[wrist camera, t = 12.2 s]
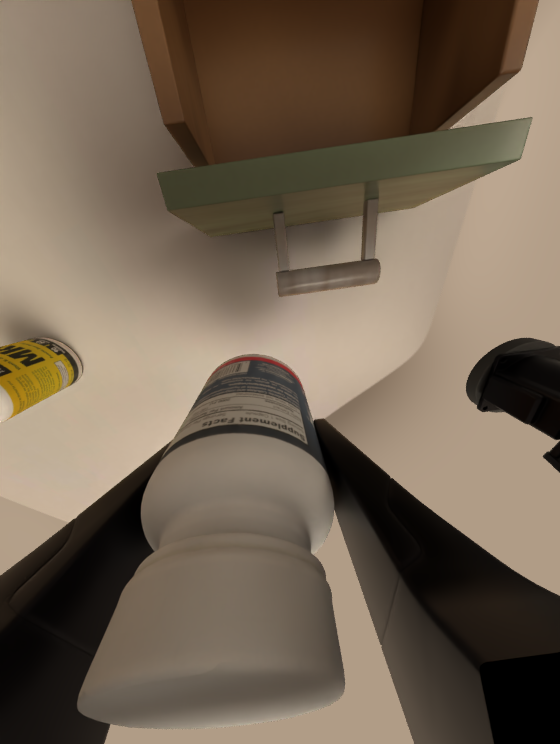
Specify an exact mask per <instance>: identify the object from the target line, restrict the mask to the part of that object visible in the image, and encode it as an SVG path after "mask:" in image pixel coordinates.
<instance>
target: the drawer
mask: <svg viewBox="0 0 560 744" xmlns="http://www.w3.org/2000/svg"><path fill="white" fill-rule="evenodd" d="M131 1H132V5H133V9H134V13H135V17H136V20H137V24H138V28H139V32H140V36H141V39H142V43H143V47H144V51H145V55H146V59H147V62H148V66H149V70H150V74H151V78H152V81H153V85H154V89H155V93H156V97H157V100H158V104H159V108H160V112H161V116H162V119H163V123H164V125H165V127H166V128H167V129H168V131H169V132H170V134H171V135H172V137H173V138H174V139H175V141H176V142H177V144H178V145H179V146H180V148H181V149H182V151H183V152H184V153H185V155H186V156H187V158H188V159H189V160H190V162H191V163H192V165H193V166H194V168H187V169H180V170H173V171H167V172H160V173H157V177H158V180H159V183H160V187H161V190H162V194H163V197H164V200H165V204H166V207H167V210H168V211H169V212H171V213H172V214H174V215H176V216H177V217H179V218H180V219H182V220H184V221H185V222H187V223H189V224H190V225H192V226H193V227H195V228H197V229H198V230H200V231H202V232H203V233H205V234H206V235H208V236H210V237H216V236H223V235H230V234H236V233H243V232H250V231H257V230H264V229H271V228H274V232H275V241H276V250H277V258H278V267H279V272H276V279H277V288H278V295H279V297H283V296H291V295H298V294H305V293H312V292H319V291H327V290H334V289H341V288H348V287H356V286H363V285H370V284H375V283H377V281H378V279H379V277H380V270H381V268H380V262H379V260H378V259H376V258H375V246H376V231H377V217H378V213H383V212H390V211H397V210H404V209H410V208H415V207H417V206H419V205H421V204H423V203H426V202H428V201H430V200H432V199H434V198H437V197H439V196H441V195H443V194H445V193H448V192H450V191H452V190H454V189H456V188H459V187H461V186H463V185H465V184H467V183H470V182H472V181H474V180H476V179H478V178H480V177H483V176H485V175H487V174H489V173H491V172H493V171H496V170H498V169H500V168H502V167H505V166H507V165H509V164H511V163H513V162H516V161H518V160H520V159H521V156H522V153H523V149H524V146H525V142H526V139H527V135H528V132H529V128H530V125H531V122H532V117H530V118H523V119H516V120H509V121H503V122H496V123H489V124H482V125H476V126H469V127H462V128H455V129H449V128H450V127H452V126H453V125H454V124H455V123H456V122H458V121H459V120H460V119H461V118H463V117H464V116H465V115H466V114H468V113H469V112H470V111H471V110H473V109H474V108H475V107H476V106H477V105H479V104H480V103H481V102H482V101H484V100H485V99H486V98H487V97H489V96H490V95H491V94H492V93H494V92H495V91H496V90H497V89H499V88H500V87H501V86H502V85H503V84H505V83H506V82H507V81H508V80H510V79H511V78H512V77H513V76H515V75H516V74H517V73H518V72H519V71H520V70H521V68H522V65H523V61H524V57H525V54H526V50H527V46H528V41H529V38H530V34H531V30H532V26H533V22H534V18H535V14H536V10H537V6H538V2H539V0H131ZM448 129H449V130H448ZM362 215H363V227H362V250H361V261H354V262H347V263H340V264H332V265H325V266H318V267H311V268H304V269H297V270H290V271H289V260H288V249H287V239H286V228H285V226H292V225H299V224H306V223H313V222H320V221H327V220H334V219H341V218H348V217H355V216H362ZM374 258H375V259H374Z"/></svg>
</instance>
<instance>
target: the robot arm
mask: <svg viewBox="0 0 560 744" xmlns="http://www.w3.org/2000/svg"><path fill="white" fill-rule="evenodd" d="M477 409H478V410H480V411H482V412H486V411H495V410H503V411H504V412H506V413H508V414H510V415H511V416H513V417H515V418H516V419H518V420H520V421H521V422H523V423H525V424H529V425H531V426H532V427H534V428H536V429H538V430H539V431H541V432H543V433H545V434H546V435H548V436H550V437H551V438H553V439H555V440H559V439H560V346H556V347H548V348H540V349H533V350H525V351H518V352H510V353H503V354H499V355H497V356H496V357H495V359H494V361H493V364H492V367H491V369H490V372H489V375H488V378H487V380H486V383H485V386H484V389H483V392H482V394H481V397H480V400H479V403H478V405H477ZM314 427H315V430H316V434H317V437H318V441H319V444H320V447H321V451H322V454H323V457H324V461H325V464H326V467H327V471H328V475H329V479H330V482H331V487H332V491H333V496H334V510H335V513H336V516H337V519H338V522H339V525H340V527H341V530H342V533H343V536H344V539H345V542H346V545H347V548H348V551H349V554H350V557H351V560H352V563H353V565H354V568H355V571H356V574H357V577H358V580H359V583H360V586H361V589H362V592H363V595H364V598H365V601H366V604H367V606H368V609H369V612H370V615H371V618H372V621H373V624H374V627H375V630H376V633H377V636H378V639H379V642H380V644H381V645H382V650H383V654H384V656H385V659H386V662H387V665H388V668H389V671H390V674H391V677H392V679H393V683H394V686H395V689H396V691H397V694H398V697H399V700H400V703H401V706H402V709H403V712H404V715H405V718H406V721H407V724H408V727H409V729H410V732H411V735H412V738H413V741H414V744H560V596H559V595H557V594H555V593H552V592H550V591H548V590H547V589H545V588H543V587H541V586H539V585H537V584H535V583H534V582H532V581H530V580H528V579H527V578H525V577H523V576H522V575H520V574H519V573H517V572H515V571H514V570H512V569H511V568H509V567H508V566H507V565H505V564H504V563H502V562H501V561H499V560H498V559H497V558H495V557H494V556H493V555H491V554H490V553H488V552H487V551H486V550H484V549H483V548H482V547H480V546H479V545H478V544H476V543H475V542H474V541H472V540H471V539H470V538H468V537H467V536H465V535H464V534H463V533H461V532H460V531H459V530H457V529H456V528H455V527H453V526H452V525H450V524H449V523H447V522H446V521H445V520H444V519H442V518H441V517H440V516H438V515H437V514H436V513H434V512H433V511H432V510H431V509H429V508H428V507H427V506H425V505H424V504H422V503H421V502H420V501H419V500H418V499H416V498H415V497H414V496H413V495H412V494H410V493H409V492H408V491H407V490H406V489H404V488H403V487H402V486H401V485H400V484H399V483H397V482H396V481H395V480H394V479H393V478H391V479H390V476H389V475H388V474H387V473H386V472H385V471H383V470H382V469H381V468H380V467H379V466H378V465H377V464H375V463H374V462H373V461H372V460H371V459H370V458H369V457H367V456H366V455H365V454H364V453H363V452H362V451H360V450H359V449H358V448H357V447H356V446H355V445H354V444H352V443H351V442H350V441H349V440H348V439H347V438H345V437H344V436H343V435H342V434H341V433H340V432H338V431H337V430H336V429H335V428H334V427H333V426H332V425H331V424H329V423H328V422H327V421H326V420H325V419H315V420H314ZM171 442H172V441H171ZM171 442H169V443H168V444H167V445H166V446H164V447H163V448H162V449H161V450H159V451H158V452H157V453H156V454H154V455H153V456H152V457H151V458H149V459H148V460H147V461H146V462H144V463H143V464H142V465H141V466H139V467H138V468H137V469H136V470H134V471H133V472H132V473H131V474H129V475H128V476H127V477H126V478H124V479H123V480H122V481H121V482H119V483H118V484H117V485H116V486H114V487H113V488H112V489H111V490H109V491H108V492H107V493H106V494H104V495H103V496H102V497H101V498H99V499H98V500H97V501H96V502H94V503H93V504H92V505H91V506H89V507H88V508H87V509H86V510H84V511H83V512H82V513H81V514H79V515H78V516H77V518H75V519H73V520H72V521H71V522H69V523H68V524H67V525H66V526H65V527H63V528H62V529H61V530H60V531H58V532H57V533H56V534H54V535H53V536H52V537H51V538H49V539H48V540H47V541H45V542H44V543H43V544H42V545H40V546H39V547H38V548H37V549H35V550H34V551H33V552H31V553H30V554H29V555H28V556H26V557H25V558H23V559H22V560H21V561H19V562H18V563H17V564H15V565H14V566H13V567H11V568H10V569H9V570H7V571H6V572H5V573H3V574H2V575H0V744H104V743H105V740H106V736H107V733H108V730H109V727H110V724H109V723H104V722H100V721H97V720H94V719H92V718H89V717H86V716H84V715H83V714H82V713H80V712H79V711H78V709H77V701H78V696H79V693H80V690H81V688H82V685H83V683H84V680H85V677H86V675H87V673H88V671H89V668H90V666H91V664H92V661H93V659H94V657H95V655H96V652H97V650H98V648H99V646H100V643H101V641H102V639H103V637H104V634H105V632H106V630H107V628H108V625H109V623H110V621H111V618H112V616H113V614H114V611H115V609H116V607H117V604H118V602H119V599H120V596H121V593H122V591H123V590H124V588H125V586H126V585H127V583H128V582H129V581H130V580H131V579H132V578H133V577H134V574H135V572H136V570H137V569H138V567H139V565H140V564H141V563H142V562H143V561H144V560H145V559H146V558H147V557H148V556H150V555H151V554H152V553H154V552H155V551H154V550H153V549H152V547H151V546H150V544H149V543H148V541H147V539H146V537H145V534H144V531H143V527H142V521H141V504H142V499H143V494H144V492H145V489H146V487H147V484H148V482H149V480H150V478H151V476H152V474H153V472H154V471H155V469H156V467H157V465H158V463H159V461H160V460H161V458H162V456H163V454H164V453H165V451H166V450H167V448H168V447H169V445H170V444H171ZM543 457H544V458H545V459H546V460H547V461H548V462H549V463H550V464H551V465H552V466H553V467H554V468H555V469H556V470H558V471H559V472H560V441H559V442H558V443H557V444H556V445H555V447H554V448H552V450H551V451H550V452H546V453H545V454H544V455H543Z"/></svg>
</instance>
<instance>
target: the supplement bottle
mask: <svg viewBox="0 0 560 744" xmlns="http://www.w3.org/2000/svg"><path fill="white" fill-rule="evenodd" d="M81 375H82V365H81V362H80V360H79V358H78V357H77V355H76V354H75V353H74V352H73V351H72V350H71V349H70V348H69V347H67V346H66V345H64V344H63V343H61V342H59V341H56V340H54V339H50V338H32V339H28V340H24V341H20V342H17V343H13V344H9V345H6V346H2V347H0V423H1V422H4V421H6V420H8V419H10V418H12V417H13V416H15V415H17V414H19V413H20V412H22V411H24V410H26V409H28V408H29V407H31V406H33V405H35V404H37V403H39V402H40V401H42V400H44V399H46V398H48V397H49V396H51V395H53V394H55V393H57V392H59V391H61V390H62V389H64V388H66V387H68V386H70V385H72V384H73V383H75V382H76V381H78V380H79V378H80V377H81Z"/></svg>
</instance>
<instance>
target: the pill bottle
mask: <svg viewBox="0 0 560 744" xmlns="http://www.w3.org/2000/svg"><path fill="white" fill-rule="evenodd" d="M333 516H334V496H333V491H332V487H331V482H330V479H329V475H328V471H327V467H326V464H325V461H324V457H323V454H322V451H321V447H320V444H319V441H318V437H317V434H316V430H315V427H314V423H313V420H312V416H311V413H310V410H309V406H308V403H307V399H306V396H305V392H304V390H303V387H302V384H301V382H300V380H299V378H298V376H297V375H296V374H295V372H294V371H293V370H292V369H291V368H290V367H288V366H287V365H286V364H284V363H283V362H281V361H279V360H277V359H275V358H272V357H269V356H266V355H259V354H247V355H241V356H237V357H234V358H232V359H229V360H228V361H226V362H224V363H223V364H221V365H220V366H219V367H218V368H217V369H216V370H215V371H214V372H213V373H212V375H211V376H210V377H209V379H208V380H207V382H206V384H205V386H204V387H203V389H202V391H201V393H200V394H199V396H198V398H197V400H196V402H195V403H194V405H193V407H192V408H191V410H190V412H189V414H188V415H187V417H186V419H185V420H184V422H183V424H182V425H181V427H180V429H179V431H178V432H177V434H176V436H175V437H174V439H173V440H172V442H171V444H170V445H169V447H168V448H167V450H166V451H165V453H164V454H163V456H162V458H161V460H160V461H159V463H158V465H157V467H156V469H155V471H154V472H153V474H152V476H151V478H150V480H149V482H148V484H147V487H146V489H145V492H144V494H143V499H142V504H141V521H142V527H143V531H144V534H145V537H146V539H147V541H148V543H149V544H150V546H151V547H152V549H153V550H154V551H155V552H154V553H152V554H151V555H150V556H148V557H147V558H146V559H145V560H144V561H143V562H142V563H141V564H140V565H139V567H138V569H137V570H136V572H135V574H134V577H133V578H132V579H131V580H130V581H129V582H128V583H127V585H126V586H125V588H124V590H123V591H122V593H121V596H120V599H119V602H118V604H117V607H116V609H115V611H114V614H113V616H112V618H111V621H110V623H109V625H108V628H107V630H106V632H105V634H104V637H103V639H102V641H101V643H100V646H99V648H98V650H97V652H96V655H95V657H94V659H93V661H92V664H91V666H90V668H89V671H88V673H87V675H86V677H85V680H84V683H83V685H82V688H81V690H80V693H79V696H78V701H77V709H78V711H79V712H80V713H82V714H83V715H84V716H86V717H89V718H92V719H94V720H97V721H100V722H104V723H109V724H113V725H119V726H125V727H135V728H155V729H157V728H158V729H201V728H220V727H231V726H240V725H248V724H256V723H264V722H272V721H276V720H282V719H287V718H292V717H296V716H299V715H303V714H307V713H310V712H313V711H316V710H319V709H322V708H324V707H327V706H329V705H331V704H333V703H334V702H336V701H337V700H338V699H340V697H341V696H342V695H343V692H344V689H345V678H344V669H343V663H342V657H341V652H340V646H339V640H338V635H337V629H336V623H335V617H334V611H333V605H332V594H331V589H330V587H329V584H328V583H327V581H326V575H325V570H324V568H323V566H322V564H321V562H320V561H319V560H318V559H317V558H316V557H315V556H314V554H315V553H316V552H317V551H318V550H319V549H320V547H321V546H322V544H323V543H324V541H325V539H326V538H327V536H328V533H329V531H330V528H331V525H332V521H333Z"/></svg>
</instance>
